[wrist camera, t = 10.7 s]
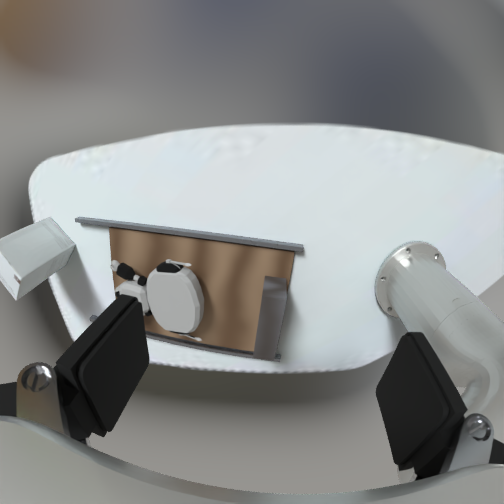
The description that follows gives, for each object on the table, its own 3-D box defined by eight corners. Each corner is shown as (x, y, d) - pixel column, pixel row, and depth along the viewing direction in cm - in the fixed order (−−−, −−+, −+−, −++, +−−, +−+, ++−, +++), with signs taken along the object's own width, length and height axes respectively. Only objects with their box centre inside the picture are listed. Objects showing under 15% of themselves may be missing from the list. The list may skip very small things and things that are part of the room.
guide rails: (302, 244, 37) (303, 247, 36) (280, 357, 44) (279, 361, 43) (79, 216, 39) (75, 218, 38) (93, 317, 46) (89, 320, 45)
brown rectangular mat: (294, 250, 37) (296, 270, 31) (274, 352, 43) (273, 379, 37) (110, 226, 39) (86, 239, 33) (121, 322, 45) (103, 342, 39)
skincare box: (42, 237, 41) (-12, 266, 27) (51, 214, 39) (-9, 239, 25) (68, 266, 43) (15, 303, 29) (78, 244, 41) (19, 279, 27)
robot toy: (133, 316, 45) (212, 327, 42) (120, 330, 40) (203, 344, 38) (118, 250, 40) (204, 253, 38) (101, 261, 36) (192, 266, 34)
